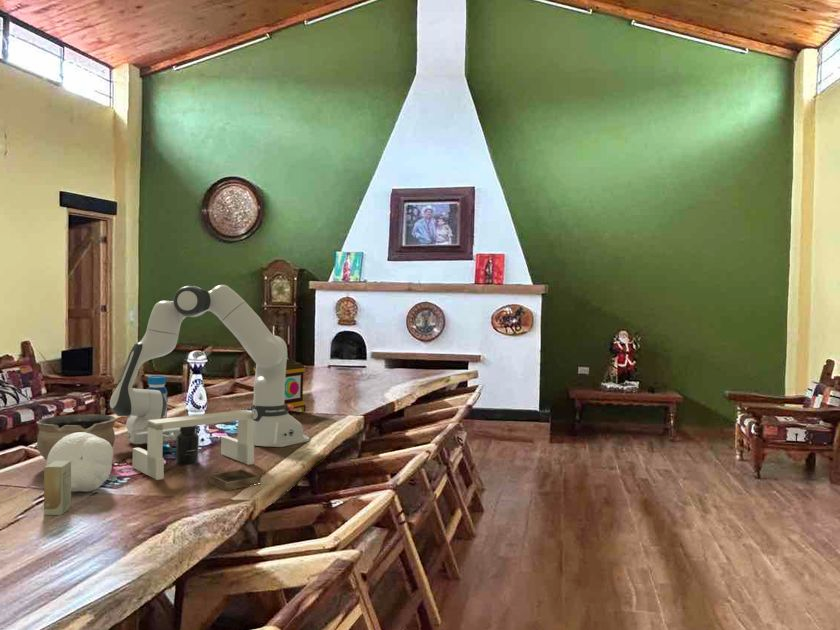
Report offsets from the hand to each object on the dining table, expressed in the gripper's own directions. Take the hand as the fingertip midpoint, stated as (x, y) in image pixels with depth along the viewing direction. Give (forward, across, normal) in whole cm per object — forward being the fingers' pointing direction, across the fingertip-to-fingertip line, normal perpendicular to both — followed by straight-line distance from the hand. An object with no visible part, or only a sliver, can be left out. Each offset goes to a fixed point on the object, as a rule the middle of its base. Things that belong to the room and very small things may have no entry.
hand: (170, 438), depth 240 cm
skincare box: (+39, -47, +6) cm, 61 cm away
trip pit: (+43, 0, +6) cm, 43 cm away
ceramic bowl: (-3, -29, +6) cm, 30 cm away
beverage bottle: (-49, +16, +6) cm, 52 cm away
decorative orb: (+24, -36, +6) cm, 44 cm away
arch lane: (+17, 0, +6) cm, 18 cm away
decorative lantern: (-48, +72, +6) cm, 87 cm away
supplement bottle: (+12, 0, +6) cm, 13 cm away
